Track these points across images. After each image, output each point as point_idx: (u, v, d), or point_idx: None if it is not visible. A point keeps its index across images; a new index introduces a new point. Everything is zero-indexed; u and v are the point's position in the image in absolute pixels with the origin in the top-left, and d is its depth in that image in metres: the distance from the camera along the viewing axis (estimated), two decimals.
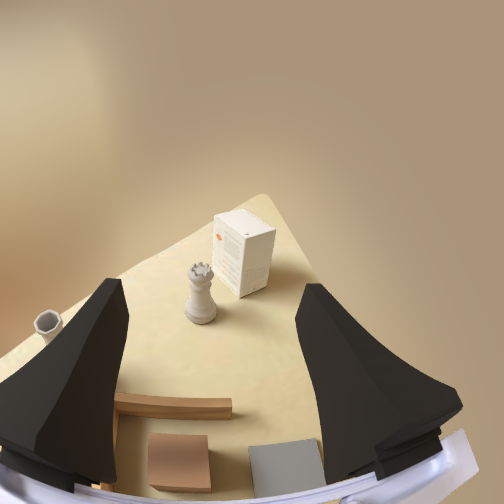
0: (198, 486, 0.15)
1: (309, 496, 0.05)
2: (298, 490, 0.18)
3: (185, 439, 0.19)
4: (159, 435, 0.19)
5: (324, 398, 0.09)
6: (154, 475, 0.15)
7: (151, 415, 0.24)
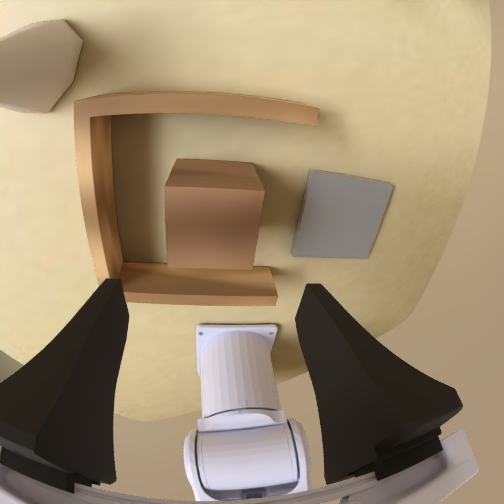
0: (236, 267, 0.17)
1: (308, 495, 0.05)
2: (342, 245, 0.22)
3: (227, 197, 0.14)
4: (183, 190, 0.13)
5: (324, 398, 0.09)
6: (176, 255, 0.15)
7: None
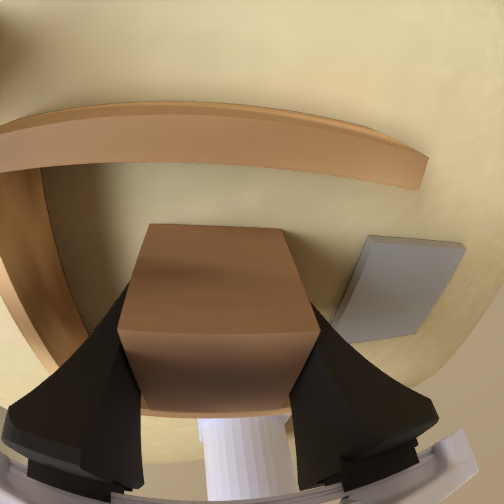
0: (256, 410, 0.09)
1: (308, 496, 0.05)
2: (391, 325, 0.15)
3: (246, 345, 0.07)
4: (154, 337, 0.06)
5: (296, 402, 0.08)
6: (160, 403, 0.08)
7: None
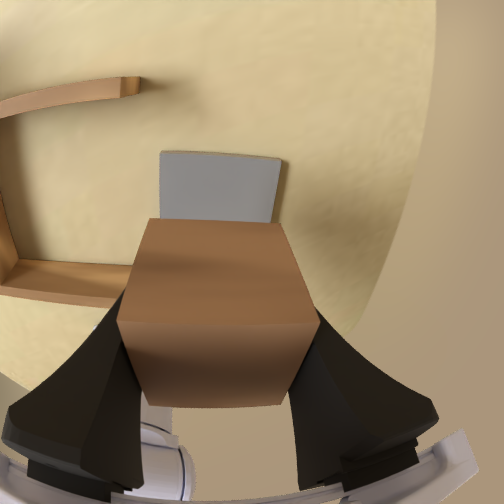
0: (256, 405, 0.09)
1: (309, 496, 0.05)
2: None
3: (245, 336, 0.07)
4: (154, 328, 0.06)
5: (296, 402, 0.08)
6: (160, 397, 0.08)
7: None
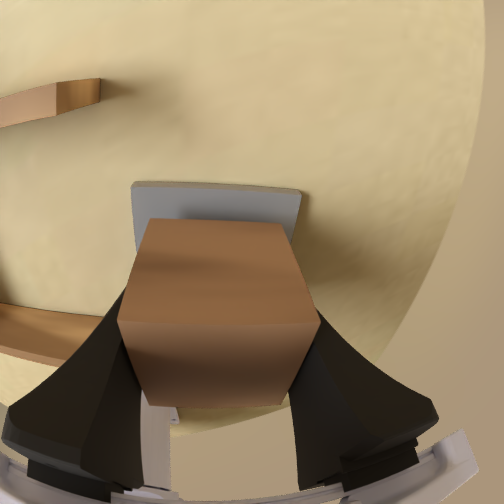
0: (256, 405, 0.09)
1: (308, 495, 0.05)
2: None
3: (246, 336, 0.07)
4: (154, 328, 0.06)
5: (296, 402, 0.08)
6: (160, 397, 0.08)
7: None
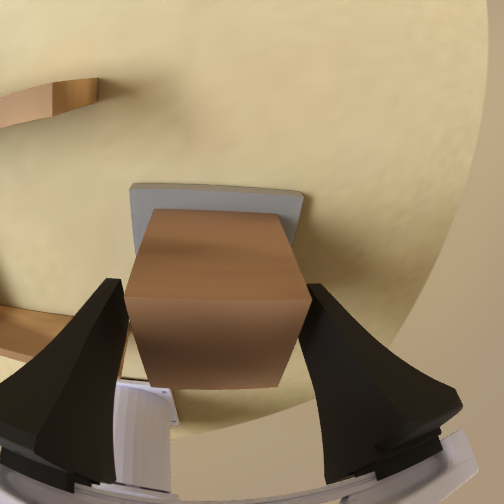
0: (253, 386, 0.10)
1: (308, 496, 0.05)
2: None
3: (243, 312, 0.07)
4: (158, 304, 0.07)
5: (324, 398, 0.09)
6: (161, 378, 0.09)
7: None
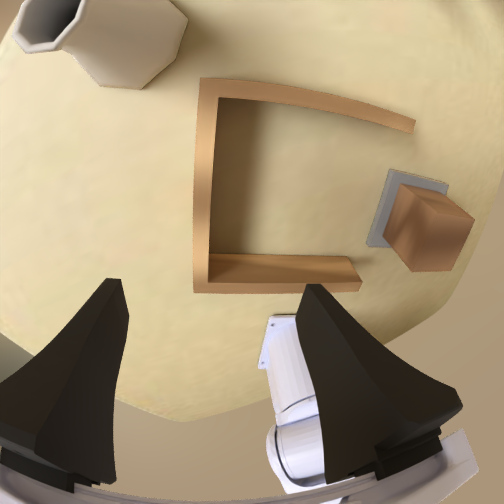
0: (444, 269, 0.19)
1: (309, 495, 0.05)
2: None
3: (460, 222, 0.16)
4: (444, 216, 0.16)
5: (324, 398, 0.09)
6: (421, 262, 0.18)
7: None
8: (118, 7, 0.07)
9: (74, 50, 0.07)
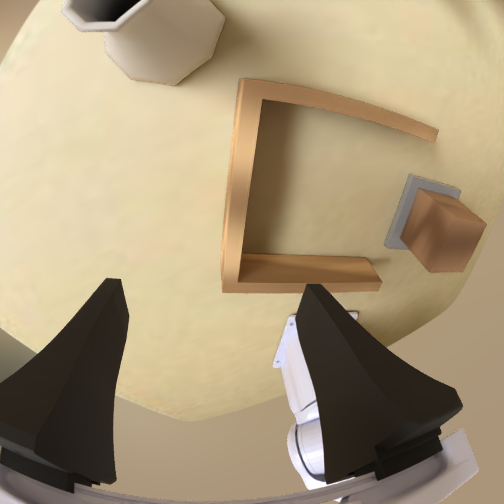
0: (457, 270, 0.19)
1: (309, 495, 0.05)
2: None
3: (474, 226, 0.17)
4: (461, 221, 0.16)
5: (324, 398, 0.09)
6: (438, 263, 0.18)
7: None
8: None
9: (123, 36, 0.07)
